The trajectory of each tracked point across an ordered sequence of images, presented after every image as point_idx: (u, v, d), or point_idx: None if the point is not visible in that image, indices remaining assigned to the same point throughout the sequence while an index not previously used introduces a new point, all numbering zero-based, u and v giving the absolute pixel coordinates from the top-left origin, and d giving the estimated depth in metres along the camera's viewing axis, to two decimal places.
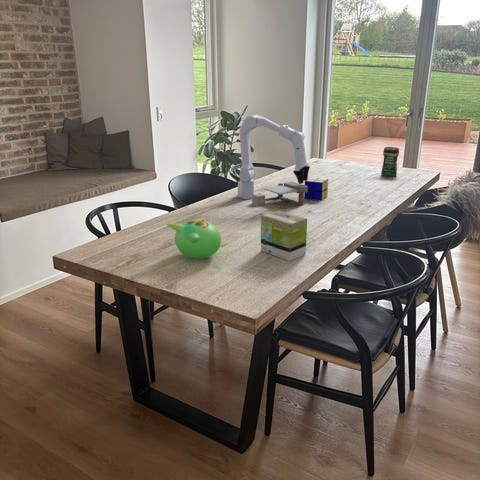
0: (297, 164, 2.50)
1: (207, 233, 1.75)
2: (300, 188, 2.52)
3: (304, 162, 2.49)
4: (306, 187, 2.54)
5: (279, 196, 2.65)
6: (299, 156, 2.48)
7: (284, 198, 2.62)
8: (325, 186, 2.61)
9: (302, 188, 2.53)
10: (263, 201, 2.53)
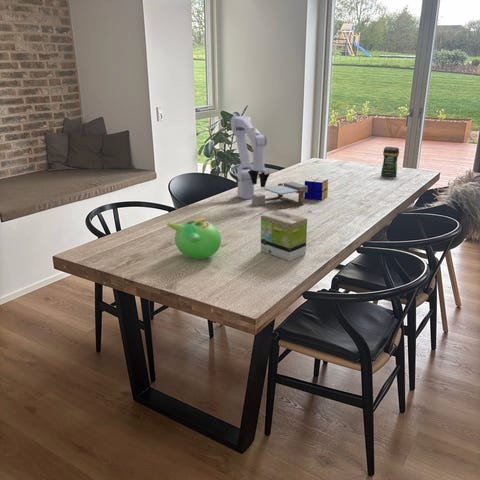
0: None
1: (207, 233, 1.75)
2: (300, 188, 2.52)
3: (253, 165, 2.48)
4: (306, 187, 2.54)
5: (279, 196, 2.65)
6: None
7: (284, 198, 2.62)
8: (325, 186, 2.61)
9: (302, 188, 2.53)
10: (263, 201, 2.53)
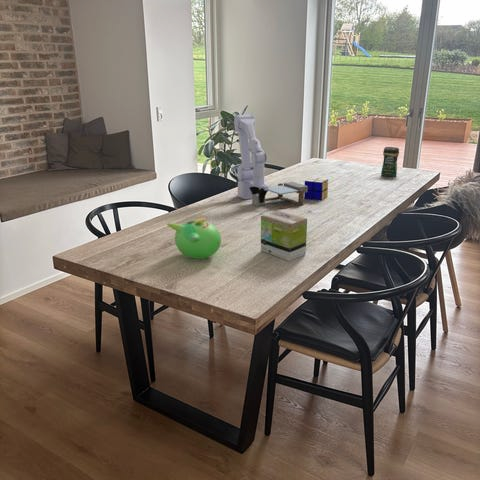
0: None
1: (207, 233, 1.75)
2: (300, 188, 2.52)
3: (253, 182, 2.50)
4: (306, 187, 2.54)
5: (279, 196, 2.65)
6: None
7: (284, 198, 2.62)
8: (325, 186, 2.61)
9: (302, 188, 2.53)
10: None
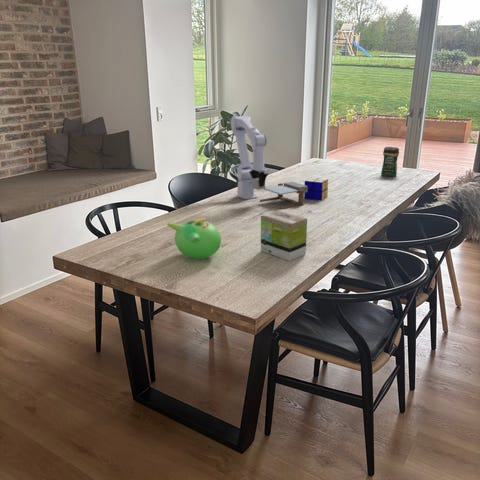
0: None
1: (207, 233, 1.75)
2: (300, 188, 2.52)
3: (253, 165, 2.48)
4: (306, 187, 2.54)
5: (279, 196, 2.65)
6: None
7: (284, 198, 2.62)
8: (325, 186, 2.61)
9: (302, 188, 2.53)
10: None
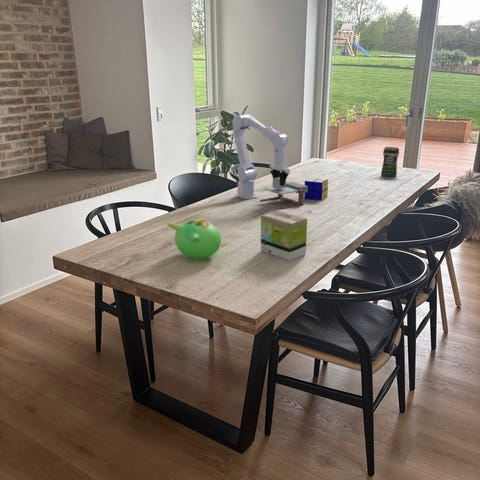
0: None
1: (207, 233, 1.75)
2: (300, 188, 2.52)
3: (274, 165, 2.48)
4: (306, 187, 2.54)
5: (279, 196, 2.65)
6: None
7: (284, 198, 2.62)
8: (325, 186, 2.61)
9: (302, 188, 2.53)
10: None
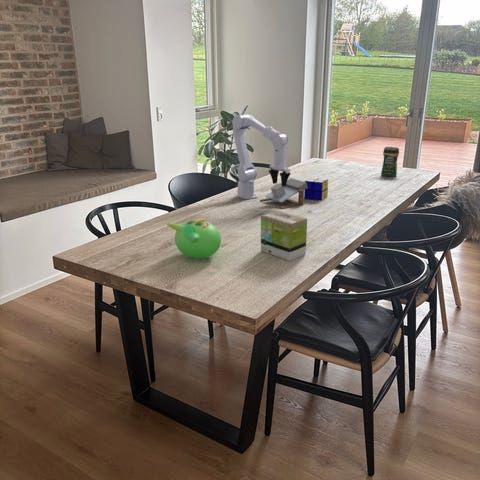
0: None
1: (207, 233, 1.75)
2: (299, 187, 2.52)
3: (274, 165, 2.48)
4: (305, 184, 2.53)
5: None
6: None
7: None
8: (325, 186, 2.61)
9: (301, 186, 2.52)
10: (283, 191, 2.52)
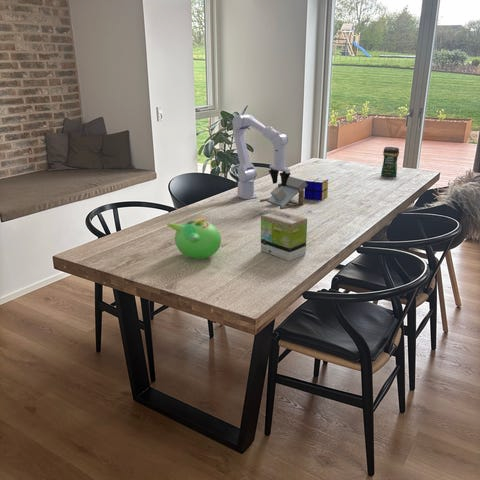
0: None
1: (207, 233, 1.75)
2: (299, 187, 2.51)
3: (274, 165, 2.48)
4: (304, 182, 2.52)
5: None
6: None
7: None
8: (325, 186, 2.61)
9: (301, 186, 2.52)
10: (283, 194, 2.52)
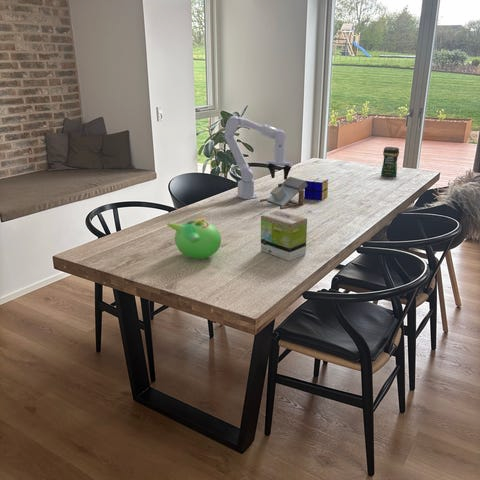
0: None
1: (207, 233, 1.75)
2: (299, 187, 2.51)
3: (275, 160, 2.59)
4: (304, 182, 2.52)
5: None
6: None
7: None
8: (325, 186, 2.61)
9: (301, 186, 2.52)
10: (283, 194, 2.52)
